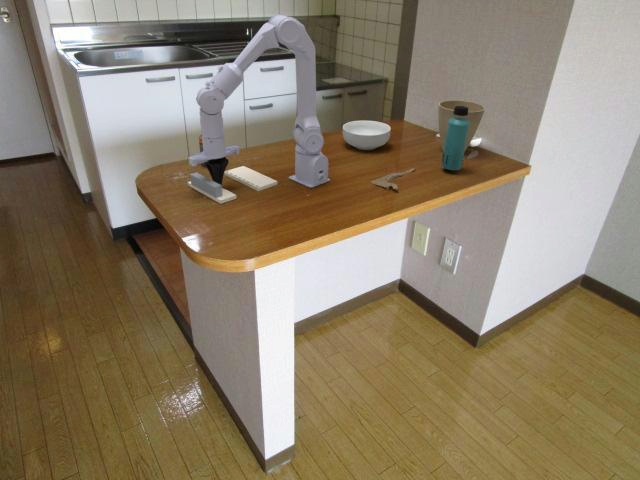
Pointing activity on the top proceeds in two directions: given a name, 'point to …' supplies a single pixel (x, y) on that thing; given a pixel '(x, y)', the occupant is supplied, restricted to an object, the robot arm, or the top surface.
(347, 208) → the top surface
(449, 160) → the beverage bottle
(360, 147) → the cereal bowl
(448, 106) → the plant pot
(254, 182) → the ticket
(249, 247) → the top surface
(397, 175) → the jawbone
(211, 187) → the stub
